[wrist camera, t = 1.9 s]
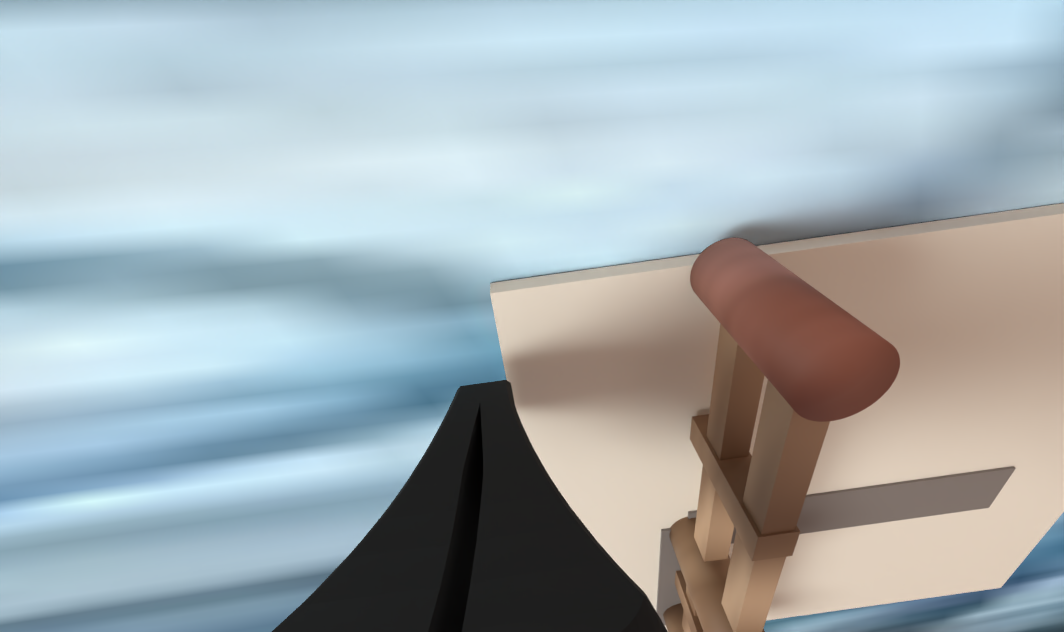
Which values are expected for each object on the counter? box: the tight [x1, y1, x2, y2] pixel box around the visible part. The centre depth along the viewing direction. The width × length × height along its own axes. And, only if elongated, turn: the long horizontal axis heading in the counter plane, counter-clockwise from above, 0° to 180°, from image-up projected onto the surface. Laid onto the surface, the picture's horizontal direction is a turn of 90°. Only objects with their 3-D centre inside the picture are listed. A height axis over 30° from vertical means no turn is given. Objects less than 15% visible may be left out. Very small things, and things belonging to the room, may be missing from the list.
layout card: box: [490, 203, 1064, 631], centre depth 16 cm, size 20×22×1 cm
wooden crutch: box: [690, 238, 900, 632], centre depth 11 cm, size 11×2×4 cm, turn 7°
